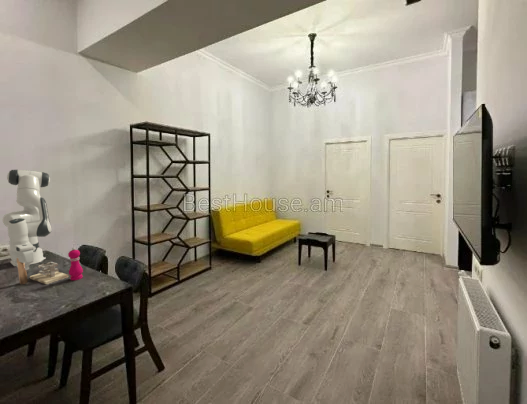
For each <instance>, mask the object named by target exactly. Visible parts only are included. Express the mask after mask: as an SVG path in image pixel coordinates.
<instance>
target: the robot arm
mask: <svg viewBox="0 0 527 404" xmlns="http://www.w3.org/2000/svg"><path fill="white" fill-rule="evenodd" d="M6 180H7V181H8V183H9V184H10V185H13V186H17V190H16V203H17V204H18V205H19V206H21V207H23V210H17V211H12V212H9V213H5V214H4V216H3V217H2V224H3V225H4V226H6V227H7V236H8V238H9V249H10V250H9V256H10V259H11V260H10V264H11V265H12V266H13V267H16V268H18V265H17V258H18V259H19V262H22V263H24V265H25V267H24V269H25V270H26V271H28V270H30V266H31V265H35V264H38V263H42V262H43V261H44V260H46V256H45V257H44V253H43V249H42V248H41V247H40V243H39V239H38V238H40V237H41V238H43V237H44V238H46V237H47V236H48V235H50V234H51V232H52V226H51V222H50V221H51V220H50V217H49V211H48V206H47V205H48V204H47V201H46V199H45V198H44V197H42V196H41V191H40V189H41V188H45V187H48V186H49V185H50V183H51V177H50V174H48V173H47V172H41V171H35V170H27V169H26V170H24V169H11V170H9V172H8V173H7V175H6Z"/></svg>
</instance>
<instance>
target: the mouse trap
mask: <svg viewBox="0 0 527 404" xmlns="http://www.w3.org/2000/svg"><path fill="white" fill-rule="evenodd" d="M57 267H59V263H57V262H53V261H49V262H43V263H42V264H38V265H37V268H38V269H40V270H38V273H37V274H33V275H29V279H31V280H33V281H36V282H39V283H42V284H45V285H49V284H52V283H55V282H59V281H60V280H64V279H67V278H70V277H69V276H70V275H69V274H66V273H63V272H60V270H59V268H57Z"/></svg>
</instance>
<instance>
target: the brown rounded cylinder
mask: <svg viewBox="0 0 527 404" xmlns="http://www.w3.org/2000/svg"><path fill="white" fill-rule="evenodd" d="M17 265H18V267H17V272H18V280H19V284H20V285H25V284H27V283H28V282H29V281H28V274H27V271H28V270H25V269H24V267H25V265H24V263H22V262H19V259H18V258H17Z"/></svg>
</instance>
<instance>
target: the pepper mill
mask: <svg viewBox="0 0 527 404" xmlns="http://www.w3.org/2000/svg"><path fill="white" fill-rule="evenodd" d="M80 255H81V252H80V250H78V249H76V247H72V248H71V250H69V251H68V254H67V256H68V257H69V261H70V267H69V270H68V276H70V277H69V278H70V281H78V280H81V279H83V277H84V276H83V273H84V269H83V267H82V266H81V263H80Z"/></svg>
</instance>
